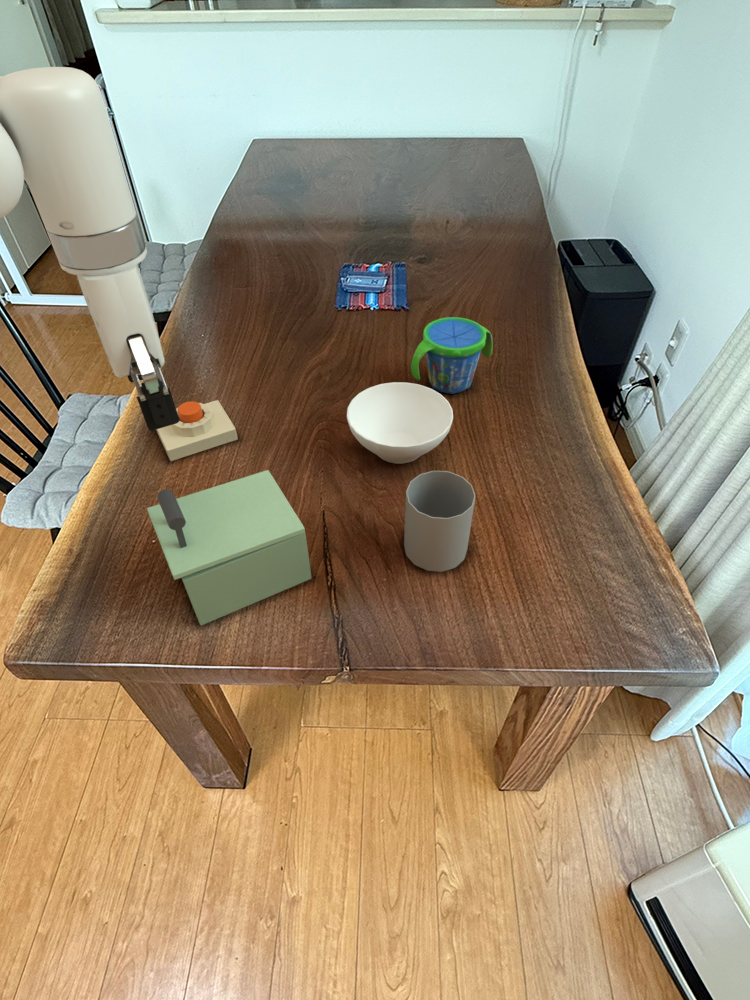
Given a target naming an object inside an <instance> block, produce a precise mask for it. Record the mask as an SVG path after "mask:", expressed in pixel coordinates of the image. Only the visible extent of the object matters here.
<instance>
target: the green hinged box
mask: <svg viewBox="0 0 750 1000" xmlns="http://www.w3.org/2000/svg"><path fill="white" fill-rule="evenodd" d="M311 571H312V570H311V564H310V556H309V551H308V542H307V535H306V532H305V533H302V534H299V535H297V536H294V537H291V538H288V539H286V540H283V541H280V542H278V543H275V544H272V545H269V546H267V547H264V548H261V549H258V550H256V551H253V552H250V553H247V554H245V555H242V556H239V557H236V558H234V559H231V560H228V561H225V562H223V563H220V564H217V565H214V566H212V567H209V568H206V569H203V570H201V571H198V572H195V573H192V574H190V575H187V576H184V577H181V578H180V579H181V581H182V583H183V585H184V589H185V591H186V593H187V596H188V598H189V601H190V603H191V606H192V609H193V611H194V614H195V616H196V618H197V621H198V623H199V626H200V627H201V626H204V625H207V624H209V623H212V622H213V621H215V620H218V619H220V618H222V617H225V616H228V615H230V614H232V613H235V612H236V611H240V610H241V609H243V608H247V607H248V606H250V605H253V604H256V603H258V602H260V601H262V600H265V599H267V598H269V597H272V596H274V595H276V594H279V593H282V592H283V591H286V590H288V589H291V588H293V587H296V586H298V585H300V584H302V583H305V582H307V581H310V580H312V572H311Z"/></svg>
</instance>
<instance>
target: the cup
mask: <svg viewBox="0 0 750 1000" xmlns="http://www.w3.org/2000/svg"><path fill="white" fill-rule="evenodd" d="M476 497H477V495H476V493H475V489H474V487H473V484H471V483H470V482H469V481H468V480H467V479H466V478H465V477H464V476H462V475H459V474H457V473H454V472H451V471H447V470H431V471H427V472H422V473H420V474H418V475H417V476H416V477H414V478H413V479H412V480H410V481H409V484H408V486H407V488H406V490H405V508H404V509H405V511H404V514H405V515H404V535H403V538H404V539H403V546H404V547H403V548H404V552H405V555H406V557H407V558H408V559H409V561H410V562H412V564H413V565H414V566H416V567H418V568H421V569H423V570H425V571H427V572H441V573H442V572H443V573H444V572H446V571H449V570H453V569H455V568H457V567H458V566H459V565H460V564H461V563H462V562H463V561H464V560H465V559H466V555H467V552H468V547H469V541H470V533H471V527H472V521H473V515H474V509H475V503H476Z"/></svg>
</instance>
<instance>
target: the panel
mask: <svg viewBox="0 0 750 1000" xmlns="http://www.w3.org/2000/svg"><path fill="white" fill-rule="evenodd" d="M198 403H199V404H200V405H201V408H202V412H203V418H202V419H200V420H199V421H197V422H194V423H183V422H182V421H181V420H180V417H179V414H178V407H176V411H177V414H178V417H179V422H178V423H176V424H173V425H170V426H166V427H163V428H160V429H156V430H155V431H156V433H157V435H158V438H159V441H160V442H161V444H162V447H163V448H164V451H165V453H166V455H167V456H168V459H169V462H173V461H177V460H180V459H183V458H186V457H188V456H191V455H194V454H198V453H200V452H204V451H207V450H210V449H213V448H216V447H219V446H222V445H225V444H229V443H231V442H234V441H238V440H239V438H238V433H237V428H236V427H235V425H234V423H233V422H232V420H231V419H230V417H229V416H228V414H227V412H226V410H225V409H224V407H223V406H222V404H221V402H220V401H219V400H218V399H216V400H213V401H210V402H207V403H202V402H198Z"/></svg>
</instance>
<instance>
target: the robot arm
mask: <svg viewBox="0 0 750 1000" xmlns="http://www.w3.org/2000/svg"><path fill="white" fill-rule="evenodd" d="M119 151H120V150H119V148H118V144H117V141H116V137H115V135H114V130H113V127H112V123H111V120H110V117H109V113H108V109H107V106H106V103H105V100H104V97H103V93H102V90H101V88H100V87H99V85H98V83H97V82H96V80H95V79H94V78H93V77H92V76H91V75H90V74H89V73H87V72H85V71H84V70H82V69H78V68H75V67H68V66H42V67H32V68H27V69H21V70H17V71H13V72H10V73H7V74H6V75H0V220H1V219H3V218H5V217H6V216H7V215H8V214H10V213H11V212H12V211H13V210H14V209H15V207H16V206H17V205H18V204H19V201H20V199H21V197H22V194H23V191H24V184H25V183H26V184H27V186H28V188H29V191H30V193H31V195H32V198H33V201H34V203H35V206H36V208H37V211H38V213H39V216H40V218H41V220H42V223H43V225H44V228H45V231H46V233H47V236H48V238H49V241H50V243H51V246H52V248H53V251H54V253H55V256H56V258H57V261H58V264H59V266H60V268H61V269H62V270H63V271H64V272H66V273H67V274H70V275H73V276H76V277H77V280H78V284H79V286H80V289H81V293H82V296H83V298H84V300H85V304H86V307H87V309H88V311H89V313H90V316H91V320H92V322H93V325H94V326H95V329H96V331H97V335H98V338H99V340H100V342H101V344H102V347H103V349H104V352H105V355H106V358H107V360H108V362H109V365H110V367H111V370H112V372H113V374H114V376H115V377H117V378H119V379H123V378H124V377H127V379H128V381H129V382H130V383H133V384H134V387H135V389H136V392H137V394H138V396H136V399H137V402H138V405H139V408H140V410H141V413H142V417H143V419H144V421H145V424H146V427H147V429H148V430H149V431H151V432H153V431H156V429H160V428H163V427H166V426H170V425H173V424H176V423H178V422H179V417H178V414H177V411H176V409H177V407H176V405H175V400H174V398H173V395H172V392H171V389H170V387H168V386H167V383H166V380H165V378H164V375H163V372H162V370H161V369H162V368H163V367H164V365H165V362H166V361H165V360H166V359H165V355H164V351H163V348H162V344H161V340H160V335H159V331H158V329H157V325H156V321H155V318H154V314H153V311H152V307H151V304H150V300H149V296H148V294H147V291H146V287H145V283H144V280H143V277H142V274H141V273H142V272H141V271H140V267H139V264H140V263H142V262H143V261H144V260H145V259H146V258H147V255H148V248H147V245H146V241H145V237H144V234H143V230H142V227H141V224H140V221H139V220H140V219H139V217H138V213H137V210H136V207H135V203H134V199H133V197H132V196H133V195H132V193H131V190H130V185H129V183H128V180H127V176H126V172H125V169H124V165H123V162H122V158H121V155H120V152H119ZM140 381H143V382H140Z"/></svg>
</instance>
